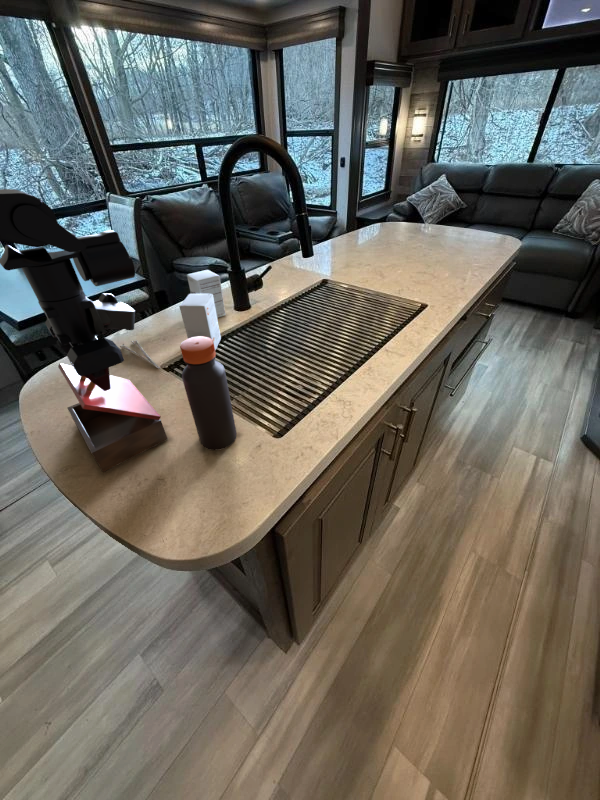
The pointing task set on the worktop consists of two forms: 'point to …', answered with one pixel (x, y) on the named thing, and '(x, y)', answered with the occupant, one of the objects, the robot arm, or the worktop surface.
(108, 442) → the valve box
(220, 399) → the dark bottle
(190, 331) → the small box
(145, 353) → the tweezers
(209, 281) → the white packaging box
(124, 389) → the lid
